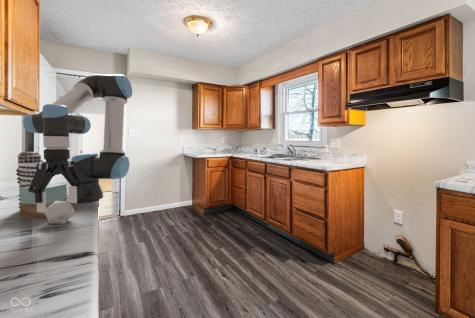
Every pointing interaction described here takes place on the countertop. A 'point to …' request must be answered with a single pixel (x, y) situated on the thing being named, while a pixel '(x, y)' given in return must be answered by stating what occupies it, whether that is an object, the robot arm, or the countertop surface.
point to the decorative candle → (27, 168)
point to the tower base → (33, 211)
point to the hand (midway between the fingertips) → (58, 207)
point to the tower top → (52, 192)
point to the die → (59, 212)
